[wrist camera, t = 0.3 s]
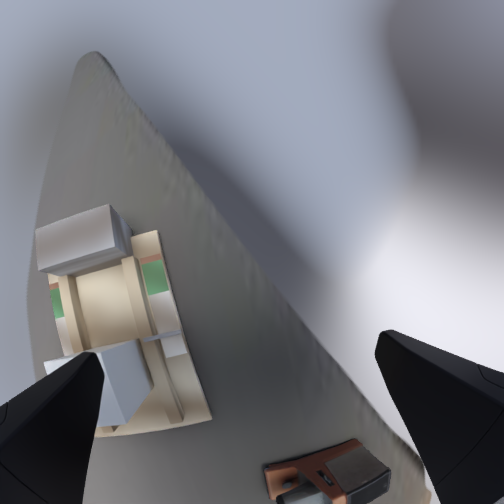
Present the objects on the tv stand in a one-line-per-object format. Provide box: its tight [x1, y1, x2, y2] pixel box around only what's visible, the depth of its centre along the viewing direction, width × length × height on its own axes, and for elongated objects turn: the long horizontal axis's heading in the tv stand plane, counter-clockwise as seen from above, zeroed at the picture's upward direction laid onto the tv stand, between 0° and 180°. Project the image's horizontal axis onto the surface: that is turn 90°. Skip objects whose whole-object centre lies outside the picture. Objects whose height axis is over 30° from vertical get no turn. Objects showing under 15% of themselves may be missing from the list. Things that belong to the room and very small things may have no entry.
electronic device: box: [264, 439, 391, 504], centre depth 16 cm, size 4×10×8 cm, turn 99°
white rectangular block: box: [44, 329, 182, 427], centre depth 15 cm, size 4×8×8 cm, turn 107°
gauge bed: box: [35, 204, 212, 437], centre depth 17 cm, size 17×11×6 cm, turn 17°
